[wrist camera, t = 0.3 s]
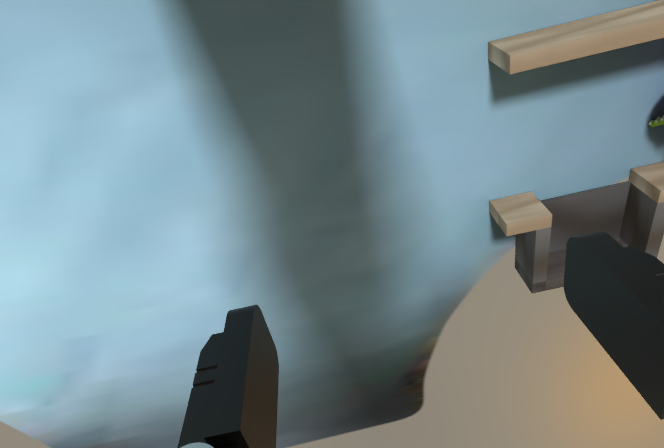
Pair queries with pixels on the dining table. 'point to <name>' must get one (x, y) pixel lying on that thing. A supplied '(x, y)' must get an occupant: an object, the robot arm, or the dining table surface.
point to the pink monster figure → (657, 122)
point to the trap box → (592, 205)
